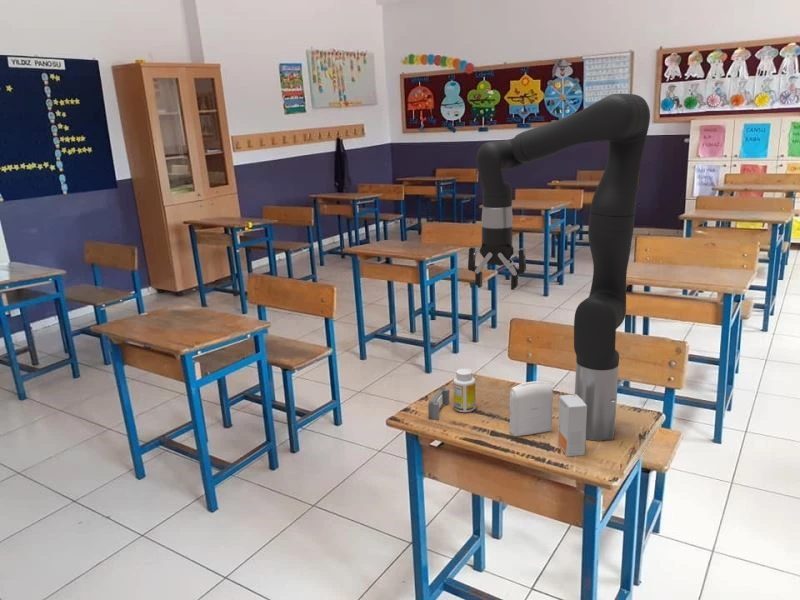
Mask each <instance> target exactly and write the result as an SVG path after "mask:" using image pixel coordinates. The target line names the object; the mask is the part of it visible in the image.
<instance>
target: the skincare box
mask: <svg viewBox="0 0 800 600" xmlns="http://www.w3.org/2000/svg"><path fill="white" fill-rule="evenodd" d="M586 419H587V405H586V404H585V403H584V402H583V400H582V399H581V398H580V397H579V396H578V395H577V394H575V393H574V394H566V395H559V404H558V425H557V426H558V427H557V428H558V430H557V431H558V432H557V444H558V445H559V447H560V448H561V449H562V451H563V452H564V454H565V456H566V457H577V456H585V455H586V440H587V439H586Z"/></svg>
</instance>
